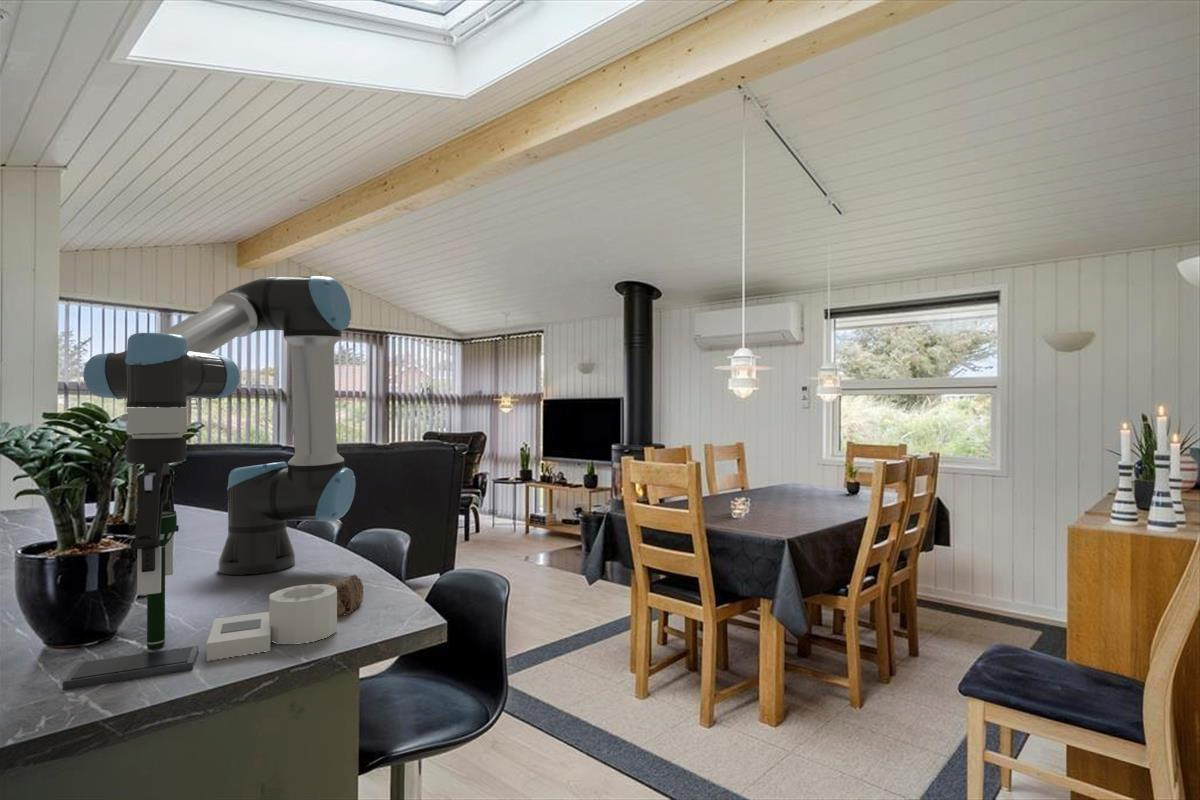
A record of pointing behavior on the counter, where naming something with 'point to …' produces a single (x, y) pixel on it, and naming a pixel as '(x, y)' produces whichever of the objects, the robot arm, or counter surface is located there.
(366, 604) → the counter surface
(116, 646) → the counter surface
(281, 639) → the block
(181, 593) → the counter surface
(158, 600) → the flashlight
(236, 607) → the counter surface
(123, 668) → the phone
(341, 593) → the rock
